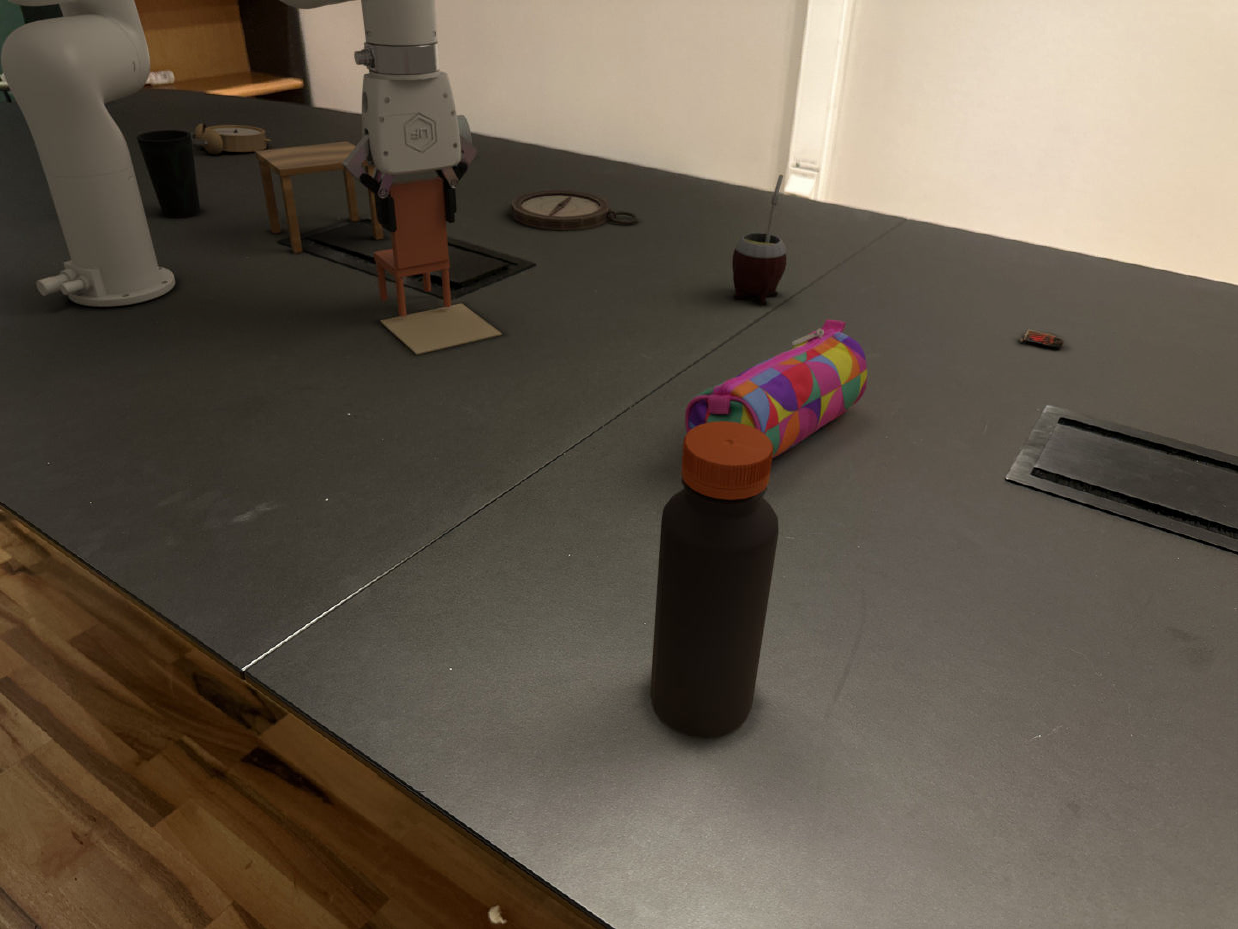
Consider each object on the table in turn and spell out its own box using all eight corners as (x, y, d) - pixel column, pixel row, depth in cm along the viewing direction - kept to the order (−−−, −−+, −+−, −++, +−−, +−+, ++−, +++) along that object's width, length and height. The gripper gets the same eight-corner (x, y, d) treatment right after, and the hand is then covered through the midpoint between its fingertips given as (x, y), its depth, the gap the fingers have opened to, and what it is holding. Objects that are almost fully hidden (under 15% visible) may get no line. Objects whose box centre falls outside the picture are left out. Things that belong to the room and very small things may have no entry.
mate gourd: (740, 308, 118) (753, 193, 110) (719, 286, 124) (729, 176, 116) (792, 304, 120) (808, 190, 112) (769, 283, 126) (782, 174, 118)
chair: (453, 307, 113) (444, 178, 105) (401, 318, 110) (387, 186, 101) (429, 288, 118) (419, 164, 110) (378, 298, 115) (363, 171, 106)
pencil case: (789, 383, 100) (800, 307, 95) (867, 411, 95) (883, 332, 90) (673, 461, 85) (680, 376, 80) (759, 498, 80) (771, 410, 75)
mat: (501, 334, 108) (501, 333, 108) (416, 354, 103) (416, 353, 103) (461, 304, 116) (461, 303, 116) (380, 321, 111) (380, 320, 111)
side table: (385, 238, 137) (376, 158, 131) (293, 253, 130) (279, 169, 124) (357, 218, 145) (347, 141, 139) (269, 231, 139) (254, 150, 132)
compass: (489, 212, 150) (488, 200, 149) (560, 194, 160) (560, 183, 159) (573, 242, 138) (573, 229, 137) (644, 221, 148) (645, 209, 147)
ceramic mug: (423, 153, 182) (420, 113, 178) (462, 150, 186) (460, 111, 181) (438, 166, 175) (435, 125, 170) (479, 163, 178) (477, 122, 174)
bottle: (743, 663, 63) (778, 412, 52) (759, 740, 57) (802, 476, 46) (646, 664, 62) (661, 411, 52) (652, 741, 57) (671, 475, 46)
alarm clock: (274, 135, 180) (195, 128, 171) (274, 160, 182) (195, 155, 173) (255, 124, 187) (178, 118, 178) (256, 149, 189) (179, 143, 180)
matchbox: (1065, 350, 109) (1066, 346, 109) (1021, 344, 110) (1022, 341, 110) (1060, 335, 113) (1061, 332, 113) (1017, 330, 114) (1018, 326, 114)
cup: (215, 207, 148) (199, 131, 142) (192, 220, 142) (174, 142, 135) (171, 204, 149) (153, 128, 142) (145, 218, 142) (126, 139, 136)
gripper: (336, 70, 90) (359, 245, 99) (492, 60, 98) (498, 222, 108) (312, 59, 95) (335, 227, 104) (461, 51, 103) (470, 206, 113)
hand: (418, 223), depth 106 cm, fingers closed on chair, 6 cm apart
